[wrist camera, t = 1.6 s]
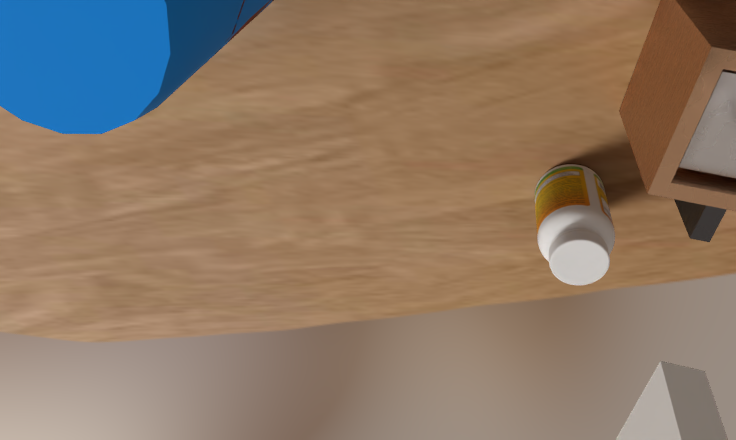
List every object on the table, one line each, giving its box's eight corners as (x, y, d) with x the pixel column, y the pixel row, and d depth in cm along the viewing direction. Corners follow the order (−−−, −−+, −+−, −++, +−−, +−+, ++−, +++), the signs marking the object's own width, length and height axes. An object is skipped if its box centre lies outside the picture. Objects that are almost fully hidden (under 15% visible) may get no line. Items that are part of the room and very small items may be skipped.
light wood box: (665, -13, 43) (711, 46, 34) (804, 11, 43) (893, 79, 33) (605, 146, 50) (629, 234, 40) (725, 169, 50) (778, 264, 40)
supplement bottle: (521, 202, 54) (524, 274, 46) (557, 151, 51) (566, 218, 43) (578, 229, 55) (591, 305, 47) (617, 180, 52) (637, 252, 44)
